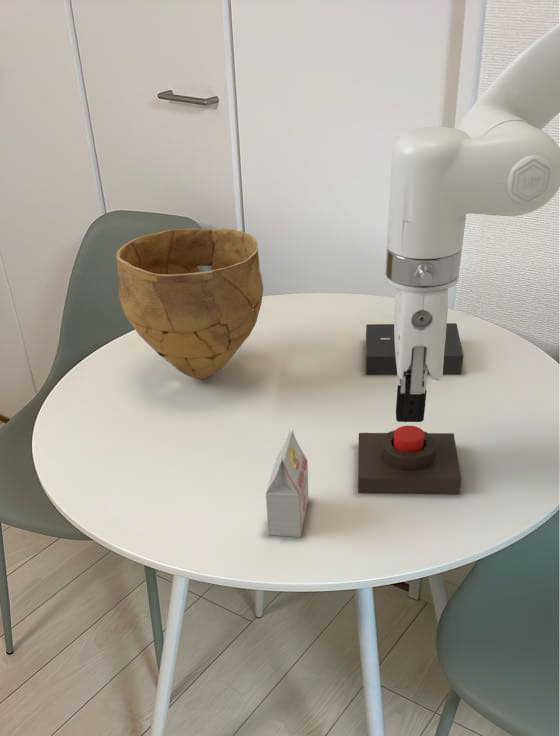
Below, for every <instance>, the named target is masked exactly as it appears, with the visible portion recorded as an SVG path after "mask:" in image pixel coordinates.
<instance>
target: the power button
mask: <svg viewBox="0 0 560 736" xmlns="http://www.w3.org/2000/svg"><path fill="white" fill-rule="evenodd" d="M424 432H425V431H424V430H423V429H422V428H421V427H418V426H415V425H402V426H399V427H398V428H396V429H395V432H394V448H395V449H396V450H399V451H402V452H417V451H420V450H422V449H423V446H424V435H425V434H424Z"/></svg>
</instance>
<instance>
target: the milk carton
mask: <svg viewBox="0 0 560 736" xmlns="http://www.w3.org/2000/svg"><path fill="white" fill-rule="evenodd" d="M308 465H309V464H308V458H307V457H306V455H305V453H304V452H303V450H302V447H301V446H300V445H299V442H298V441H297V438H296V436H295V432H294V429H292V430H290V429H289V430H288V434H287V436H286V439H285V441H284V443H283V445H282V447H281V448H280V450H279V452H278V454H277V455H276V457H275V460H274V465H273V467H272V472H271V475H270V478H269V481H268V484H267V488H266V492H265V500H266V516H267V530H268V536H279V537H293V538H302V532H303V527H304V523H305V519H306V514H307V509H308V505H309V469H308V468H309V467H308Z"/></svg>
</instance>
